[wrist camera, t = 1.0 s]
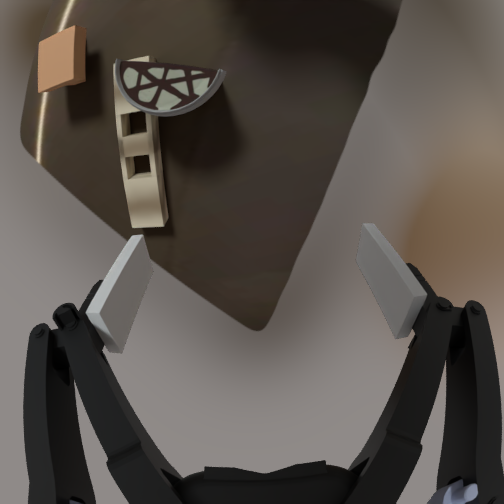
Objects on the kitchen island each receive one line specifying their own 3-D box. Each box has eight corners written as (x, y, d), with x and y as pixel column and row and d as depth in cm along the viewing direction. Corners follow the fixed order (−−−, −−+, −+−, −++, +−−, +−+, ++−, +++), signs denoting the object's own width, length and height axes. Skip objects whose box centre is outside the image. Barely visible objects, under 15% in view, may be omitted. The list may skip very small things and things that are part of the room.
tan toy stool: (64, 45, 23) (39, 42, 18) (98, 32, 23) (75, 25, 18) (63, 90, 27) (38, 92, 22) (97, 78, 28) (73, 78, 22)
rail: (122, 65, 27) (113, 64, 25) (156, 58, 27) (148, 55, 25) (139, 219, 40) (132, 227, 37) (168, 217, 40) (163, 226, 37)
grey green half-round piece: (134, 106, 31) (101, 112, 23) (143, 66, 28) (111, 58, 20) (219, 120, 33) (209, 127, 25) (230, 77, 30) (225, 69, 21)
